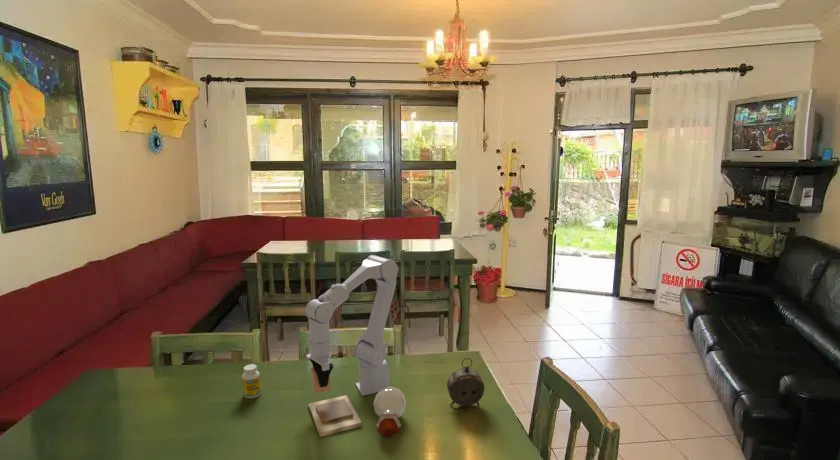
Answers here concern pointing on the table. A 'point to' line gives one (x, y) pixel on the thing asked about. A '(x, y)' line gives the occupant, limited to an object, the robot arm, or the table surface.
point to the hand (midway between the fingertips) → (321, 382)
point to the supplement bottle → (251, 381)
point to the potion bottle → (389, 410)
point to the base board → (334, 415)
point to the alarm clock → (465, 386)
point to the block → (316, 384)
